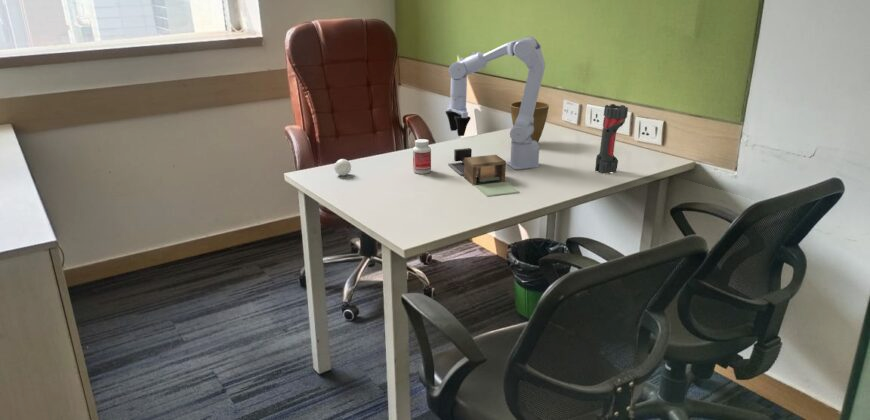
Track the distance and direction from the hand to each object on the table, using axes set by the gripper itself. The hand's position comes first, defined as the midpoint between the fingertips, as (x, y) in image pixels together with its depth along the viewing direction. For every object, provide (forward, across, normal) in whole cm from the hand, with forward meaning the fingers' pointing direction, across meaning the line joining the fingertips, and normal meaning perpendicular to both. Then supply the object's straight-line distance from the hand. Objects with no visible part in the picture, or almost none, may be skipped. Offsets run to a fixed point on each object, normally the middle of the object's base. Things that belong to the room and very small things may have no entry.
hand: (457, 133), depth 234 cm
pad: (+9, +36, 0) cm, 38 cm away
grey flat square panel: (+10, +13, 0) cm, 16 cm away
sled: (+8, +18, 0) cm, 20 cm away
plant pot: (+10, -9, +33) cm, 36 cm away
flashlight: (+9, +32, +44) cm, 55 cm away
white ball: (+10, +5, -44) cm, 45 cm away
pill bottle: (+10, +11, -17) cm, 22 cm away
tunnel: (+9, +26, 0) cm, 28 cm away
